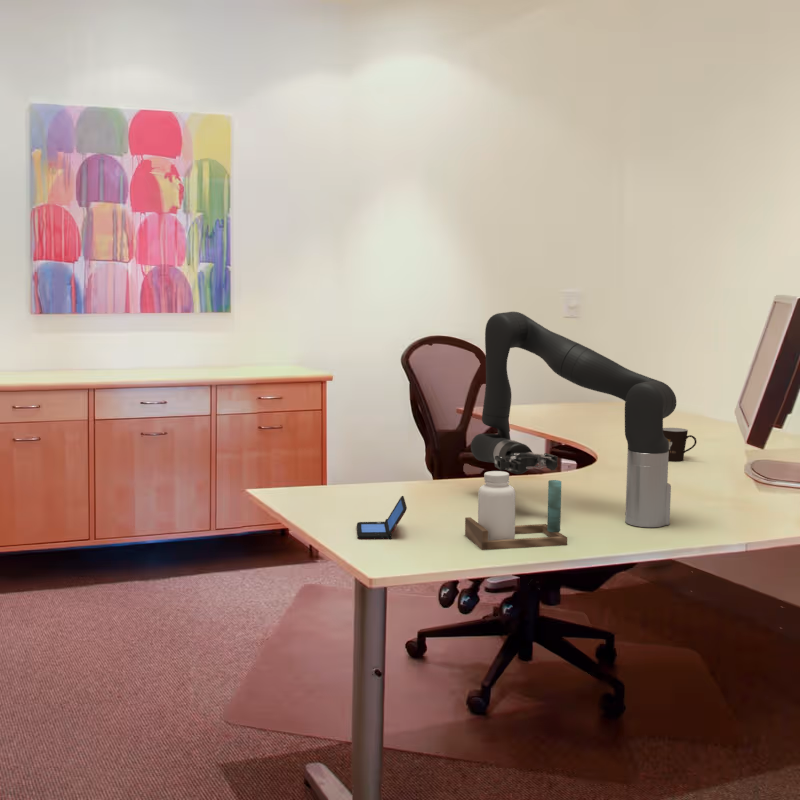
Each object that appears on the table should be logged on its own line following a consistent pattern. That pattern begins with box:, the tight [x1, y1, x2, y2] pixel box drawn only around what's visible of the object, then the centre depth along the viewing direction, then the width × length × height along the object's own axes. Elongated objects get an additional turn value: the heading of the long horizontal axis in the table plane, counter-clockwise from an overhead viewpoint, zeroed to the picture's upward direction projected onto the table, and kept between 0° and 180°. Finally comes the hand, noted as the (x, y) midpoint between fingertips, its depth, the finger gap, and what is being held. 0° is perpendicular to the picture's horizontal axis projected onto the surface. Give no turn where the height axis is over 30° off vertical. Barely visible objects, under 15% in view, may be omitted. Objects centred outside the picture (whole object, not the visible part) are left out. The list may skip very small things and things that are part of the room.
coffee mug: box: [663, 427, 698, 463], centre depth 304 cm, size 12×9×10 cm
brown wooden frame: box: [464, 479, 568, 551], centre depth 204 cm, size 20×12×13 cm, turn 103°
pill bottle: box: [477, 470, 516, 540], centre depth 203 cm, size 8×8×15 cm
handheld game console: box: [356, 495, 408, 541], centre depth 210 cm, size 12×11×7 cm
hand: (536, 466), depth 217 cm, fingers open, 8 cm apart
